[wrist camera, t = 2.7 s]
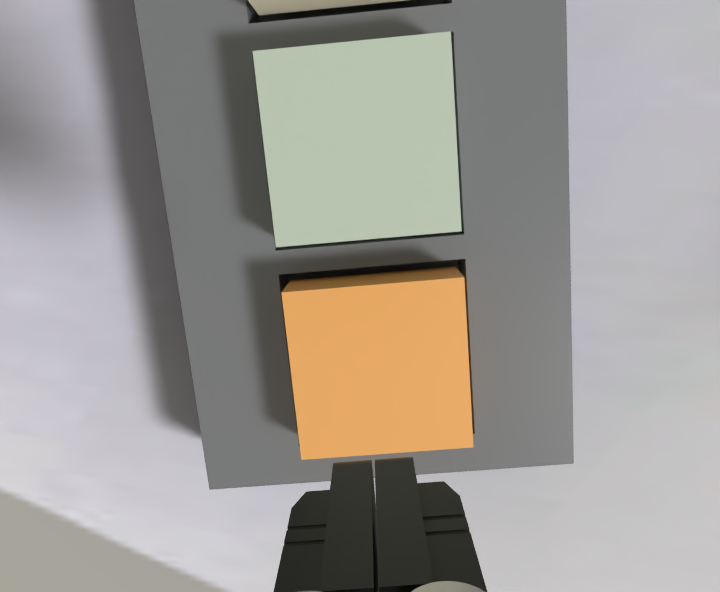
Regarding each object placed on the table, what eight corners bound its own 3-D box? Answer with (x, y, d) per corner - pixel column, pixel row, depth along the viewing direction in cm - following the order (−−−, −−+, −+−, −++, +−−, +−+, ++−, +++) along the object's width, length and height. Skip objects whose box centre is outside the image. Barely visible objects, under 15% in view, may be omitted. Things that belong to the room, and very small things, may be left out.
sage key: (265, 63, 19) (252, 51, 17) (442, 45, 19) (450, 31, 17) (285, 239, 20) (275, 247, 18) (453, 225, 20) (461, 231, 18)
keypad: (135, -191, 20) (94, -254, 17) (532, -238, 19) (560, -310, 16) (228, 450, 25) (209, 489, 22) (549, 427, 24) (573, 463, 21)
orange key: (290, 280, 20) (281, 292, 18) (455, 266, 20) (464, 277, 18) (307, 433, 22) (301, 460, 20) (464, 421, 21) (473, 447, 19)
